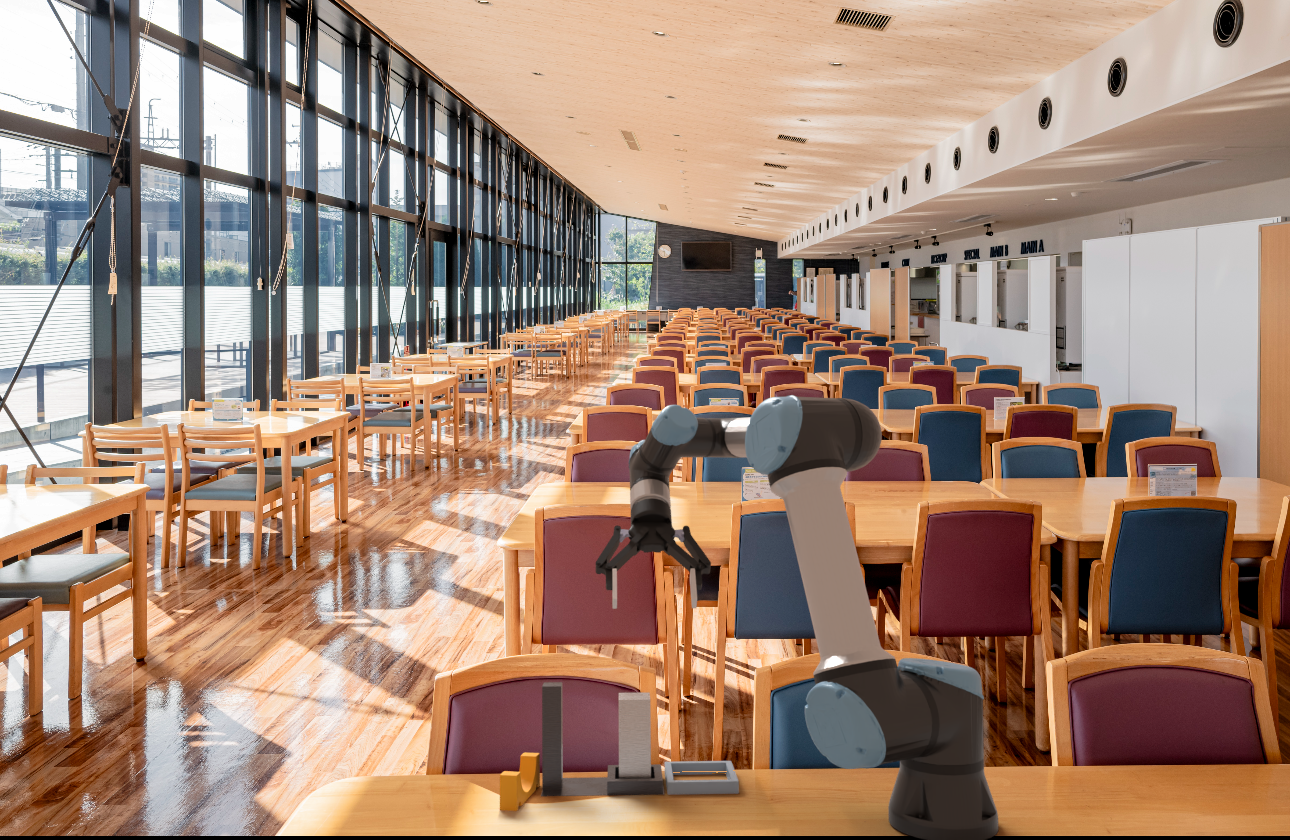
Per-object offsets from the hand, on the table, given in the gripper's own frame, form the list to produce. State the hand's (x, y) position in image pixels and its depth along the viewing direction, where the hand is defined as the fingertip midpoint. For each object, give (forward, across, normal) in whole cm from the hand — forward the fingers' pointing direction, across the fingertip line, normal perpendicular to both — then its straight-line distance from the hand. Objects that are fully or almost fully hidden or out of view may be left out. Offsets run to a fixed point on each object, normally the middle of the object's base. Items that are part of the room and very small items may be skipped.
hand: (654, 603), depth 172 cm
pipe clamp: (+31, +22, -9) cm, 39 cm away
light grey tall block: (+27, +4, -11) cm, 29 cm away
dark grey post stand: (+28, +9, -12) cm, 31 cm away
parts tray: (+27, -7, -13) cm, 31 cm away
